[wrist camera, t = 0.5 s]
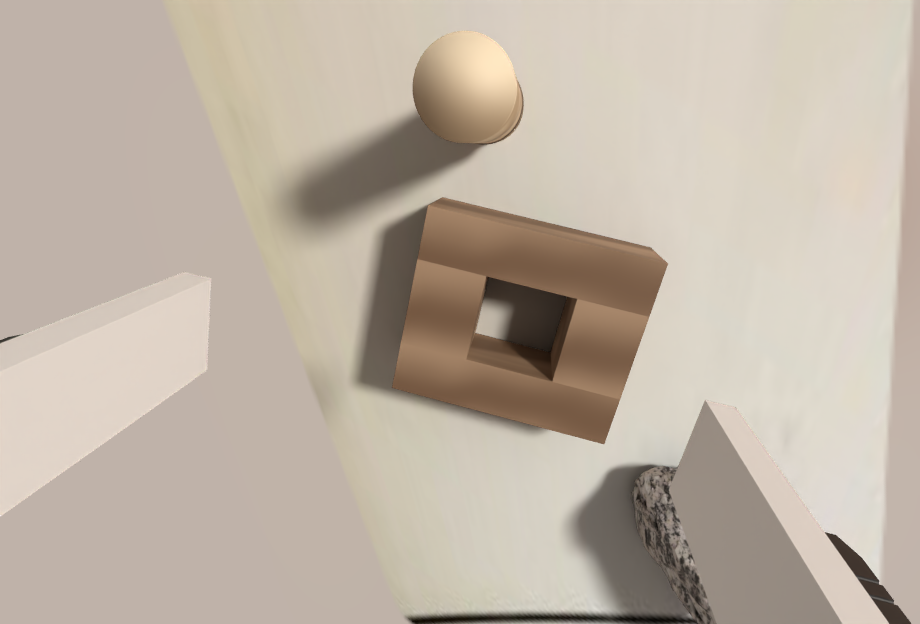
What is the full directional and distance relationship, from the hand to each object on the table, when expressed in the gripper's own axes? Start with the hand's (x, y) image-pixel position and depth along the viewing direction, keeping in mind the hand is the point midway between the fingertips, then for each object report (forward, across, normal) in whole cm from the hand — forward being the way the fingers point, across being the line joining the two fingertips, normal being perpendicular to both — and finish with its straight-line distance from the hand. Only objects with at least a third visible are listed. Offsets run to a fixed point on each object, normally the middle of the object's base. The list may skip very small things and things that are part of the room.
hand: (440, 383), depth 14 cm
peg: (+24, -2, +7) cm, 25 cm away
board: (+23, +2, -5) cm, 24 cm away
